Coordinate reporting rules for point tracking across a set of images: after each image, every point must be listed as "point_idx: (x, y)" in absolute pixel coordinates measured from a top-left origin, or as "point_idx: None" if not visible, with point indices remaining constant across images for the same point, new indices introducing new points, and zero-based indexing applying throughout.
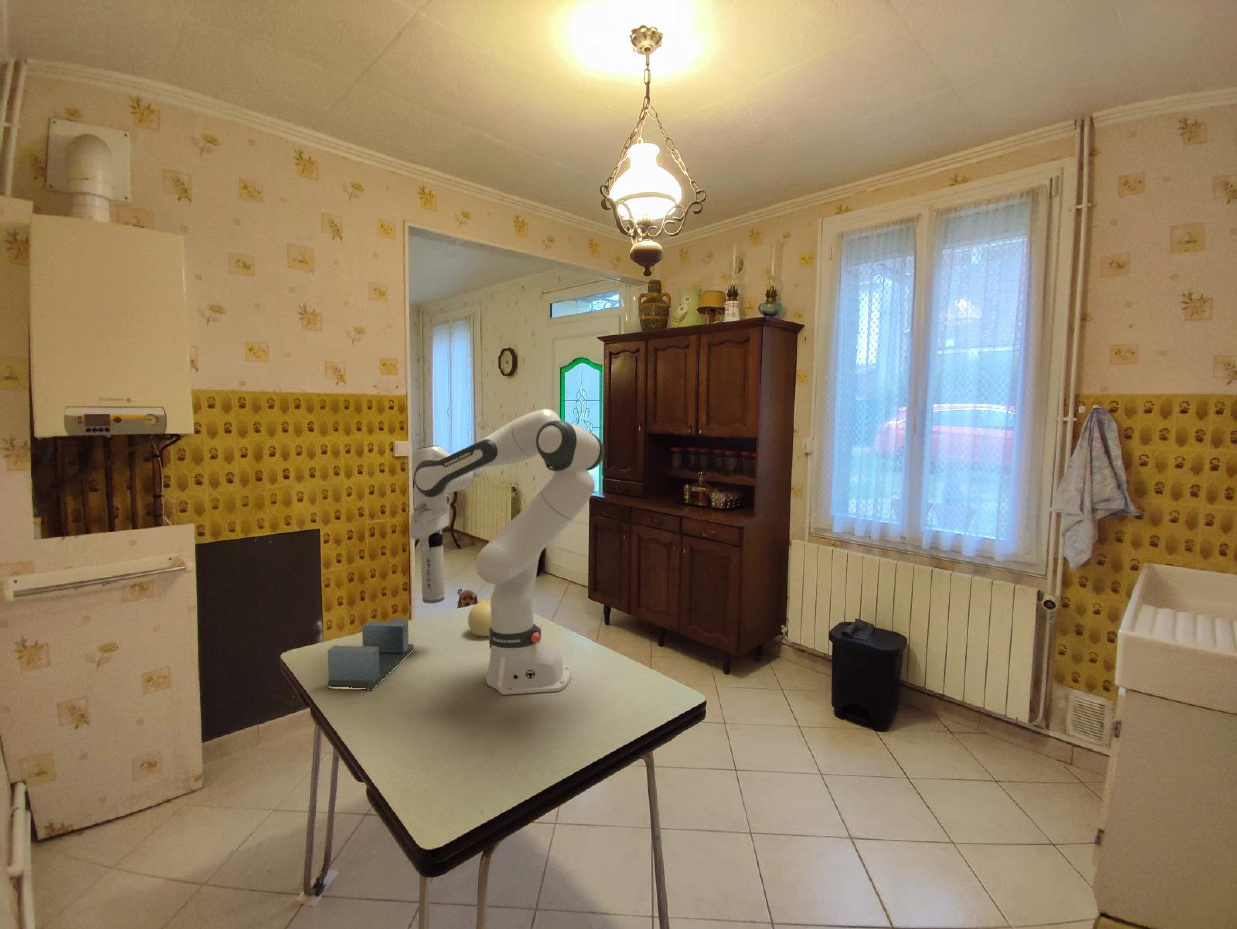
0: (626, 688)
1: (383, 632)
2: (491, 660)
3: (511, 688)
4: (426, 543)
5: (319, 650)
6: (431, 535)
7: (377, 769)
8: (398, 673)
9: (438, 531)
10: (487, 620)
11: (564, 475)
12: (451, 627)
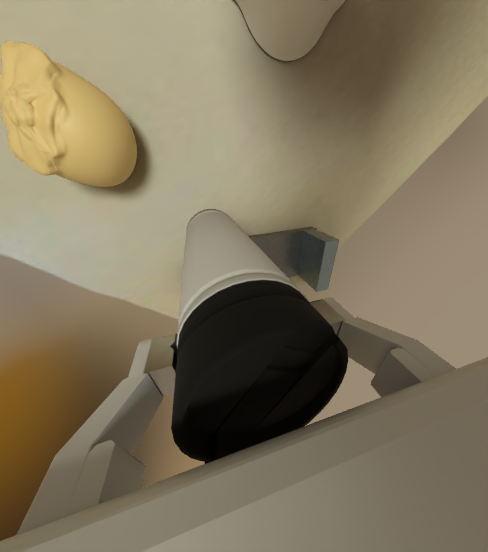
0: None
1: None
2: (335, 6)
3: None
4: (377, 329)
5: None
6: (224, 420)
7: (442, 136)
8: (275, 223)
9: (119, 468)
10: (118, 113)
11: None
12: (111, 232)
